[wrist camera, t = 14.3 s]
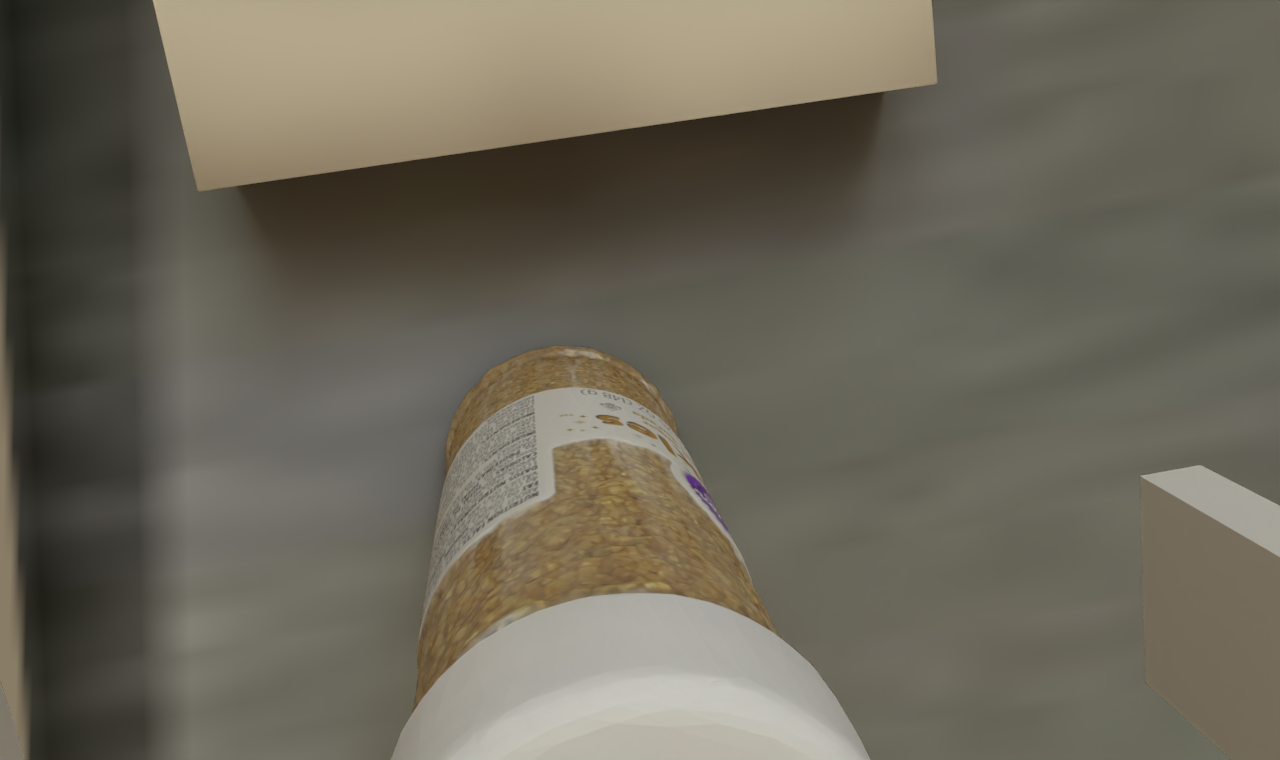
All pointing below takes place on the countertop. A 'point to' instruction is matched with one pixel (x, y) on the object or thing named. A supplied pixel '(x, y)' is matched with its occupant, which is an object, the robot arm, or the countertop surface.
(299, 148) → the holder block
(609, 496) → the sprinkles bottle
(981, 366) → the countertop surface
